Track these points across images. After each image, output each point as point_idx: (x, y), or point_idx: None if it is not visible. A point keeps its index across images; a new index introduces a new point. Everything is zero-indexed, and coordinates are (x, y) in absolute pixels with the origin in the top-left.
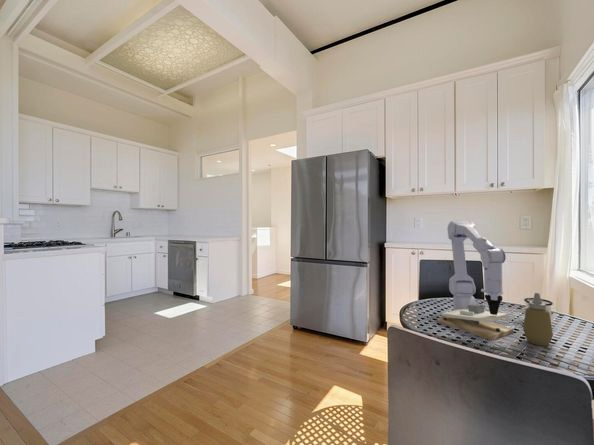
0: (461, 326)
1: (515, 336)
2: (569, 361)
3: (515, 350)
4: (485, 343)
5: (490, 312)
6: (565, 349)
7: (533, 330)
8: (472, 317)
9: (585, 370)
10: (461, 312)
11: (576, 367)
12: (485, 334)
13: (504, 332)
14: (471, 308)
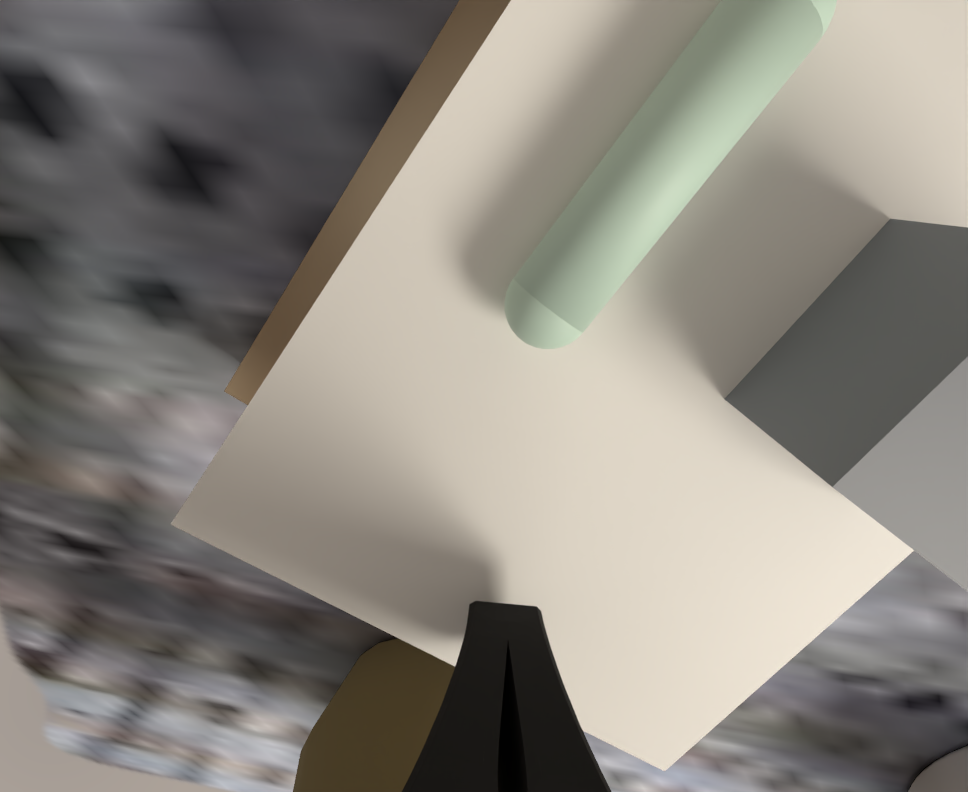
0: (456, 9)
1: None
2: (167, 733)
3: (123, 520)
4: (106, 302)
5: (466, 629)
6: None
7: (301, 787)
8: (347, 258)
9: (81, 754)
10: (722, 4)
11: (92, 735)
12: (259, 346)
13: None
14: (909, 312)
